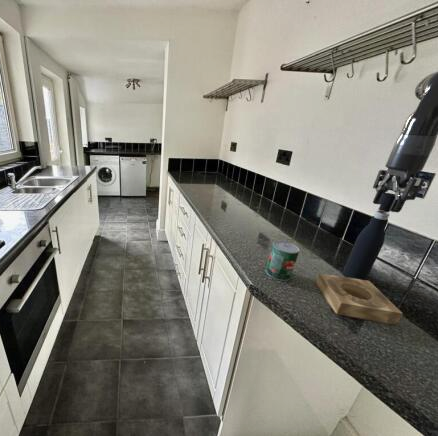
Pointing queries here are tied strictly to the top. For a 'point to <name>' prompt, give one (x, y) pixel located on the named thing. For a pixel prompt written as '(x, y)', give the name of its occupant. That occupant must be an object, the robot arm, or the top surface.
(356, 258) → the dark blue water bottle
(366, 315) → the hole plate
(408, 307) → the top surface
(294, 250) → the canned tomato
